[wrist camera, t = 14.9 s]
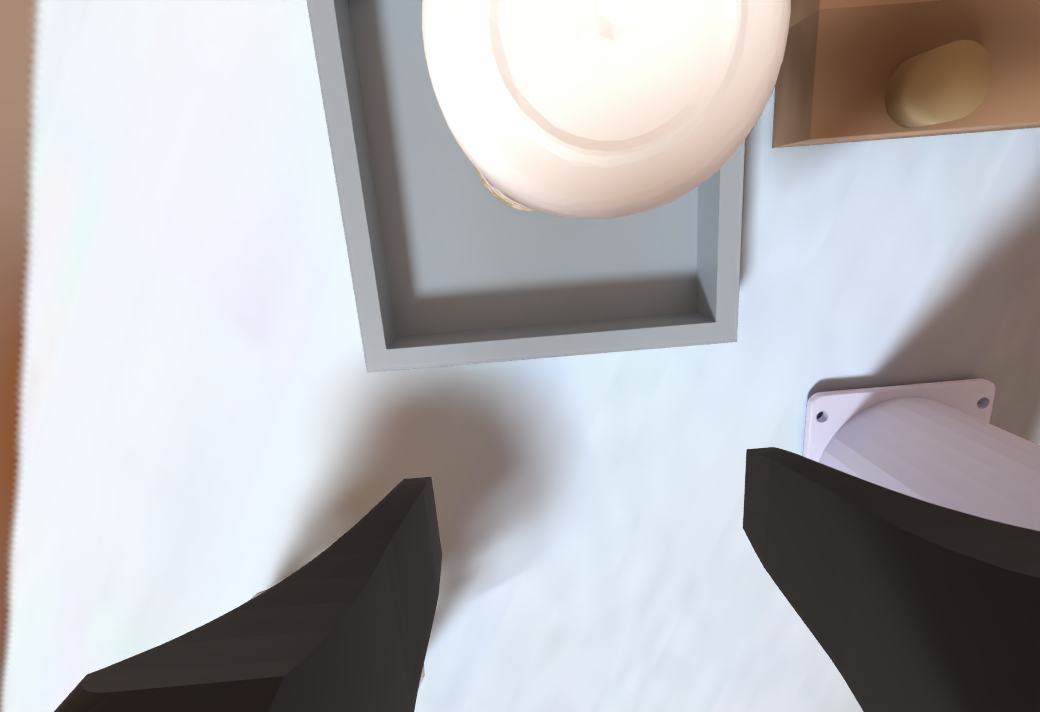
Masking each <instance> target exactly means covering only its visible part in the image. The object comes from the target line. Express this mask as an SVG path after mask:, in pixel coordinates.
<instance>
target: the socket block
mask: <svg viewBox="0 0 1040 712" xmlns="http://www.w3.org/2000/svg"><path fill="white" fill-rule="evenodd" d="M1037 127H1040V0H940V1H938V0H791V14H790V22H789V30H788V36H787V42H786V47H785V52H784V57H783V62H782V64H781V66H780V70H779V74H778V78H777V81H776V85H775V103H774V122H773V141H772V148H778V147H791V146H804V145H817V144H830V143H843V142H856V141H869V140H881V139H894V138H907V137H920V136H933V135H946V134H959V133H972V132H985V131H998V130H1011V129H1024V128H1037Z"/></svg>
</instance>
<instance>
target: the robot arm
mask: <svg viewBox="0 0 1040 712" xmlns="http://www.w3.org/2000/svg"><path fill="white" fill-rule="evenodd" d="M995 392H996V387H995V385H994V383H992V382H991V381H988V380H986V379H968V380H956V381H945V382H933V383H921V384H909V385H898V386H886V387H874V388H862V389H851V390H839V391H827V392H818V393H815V394H813V395H812V396H811V397H810V398H809V400H808V403H807V411H806V424H805V436H804V448H803V456H800V455H798V454H795V453H792V452H789V451H786V450H782V449H779V448H775V447H769V448H758V449H747V453H746V474H745V495H744V516H743V529H744V531H745V533H746V535H747V537H748V539H749V541H750V543H751V545H752V547H753V548H754V550H755V552H756V554H757V556H758V557H759V559H760V561H761V563H762V565H763V566H764V568H765V569H766V571H767V572H768V573H769V575H770V576H771V578H772V579H773V581H774V582H775V583H776V585H777V586H778V587H779V589H780V590H781V592H782V593H783V594H784V596H785V597H786V599H787V600H788V601H789V603H790V604H791V605H792V607H793V608H794V609H795V611H796V612H797V613H798V615H799V616H800V617H801V619H802V620H803V622H804V623H805V624H806V626H807V627H808V628H809V630H810V631H811V632H812V634H813V635H814V637H815V638H816V639H817V641H818V642H819V643H820V645H821V646H822V647H823V649H824V650H825V651H826V653H827V654H828V656H829V657H830V659H831V660H832V662H833V663H834V664H835V666H836V667H837V669H838V670H839V672H840V673H841V675H842V676H843V678H844V680H845V681H846V683H847V685H848V686H849V688H850V690H851V691H852V693H853V695H854V696H855V698H856V700H857V701H858V703H859V705H860V706H861V708H862V710H863V711H864V712H1040V445H1038V444H1035V443H1033V442H1031V441H1028V440H1026V439H1024V438H1021V437H1019V436H1017V435H1015V434H1012V433H1010V432H1008V431H1005V430H1003V429H1001V428H998V427H996V426H994V425H992V424H990V419H991V413H992V408H993V402H994V397H995ZM980 399H981V401H980V403H978V401H979V400H980ZM977 403H978V404H977ZM822 411H823V414H822V416H821V417H820V418H818V419H816V417H817V414H818V413H819V412H822ZM441 559H442V552H441V545H440V538H439V530H438V523H437V516H436V508H435V501H434V493H433V486H432V479H431V477H424V478H412V479H404V480H403V481H402V482H400V483H399V484H398V485H397V486H396V487H395V488H394V489H393V490H392V491H391V492H390V493H389V494H388V495H387V496H386V497H385V498H384V499H383V500H382V501H381V502H380V503H378V504H377V505H376V506H375V507H374V508H373V509H372V510H371V511H370V512H369V513H368V514H367V515H366V516H365V517H364V518H363V519H361V520H360V521H359V522H358V523H357V524H356V525H355V526H354V527H352V528H351V529H350V530H349V531H348V532H346V533H345V534H344V535H343V536H342V537H341V538H339V539H338V540H337V541H336V542H335V543H333V544H332V545H331V546H330V547H329V548H328V549H326V550H325V551H324V552H322V553H321V554H320V555H319V556H317V557H316V558H315V559H313V560H312V561H310V562H309V563H308V564H306V565H305V566H303V567H302V568H301V569H299V570H298V571H296V572H295V573H293V574H292V575H290V576H289V577H287V578H286V579H284V580H283V581H281V582H280V583H278V584H277V585H275V586H273V587H271V588H270V589H268V590H266V591H265V592H263V593H261V594H260V595H258V596H256V597H254V598H253V599H251V600H249V601H248V602H246V603H244V604H243V605H241V606H239V607H238V608H236V609H234V610H232V611H230V612H228V613H226V614H224V615H222V616H221V617H219V618H217V619H215V620H213V621H211V622H209V623H207V624H205V625H203V626H201V627H199V628H197V629H194V630H192V631H190V632H188V633H186V634H184V635H182V636H180V637H178V638H175V639H173V640H171V641H169V642H166V643H164V644H162V645H160V646H157V647H155V648H152V649H150V650H147V651H145V652H143V653H140V654H138V655H135V656H133V657H130V658H128V659H125V660H123V661H121V662H118V663H116V664H113V665H111V666H108V667H106V668H103V669H101V670H98V671H95V672H93V673H90V674H87V675H86V676H85V677H84V679H83V680H82V681H81V682H80V683H79V684H78V685H77V686H76V688H75V689H74V690H73V691H72V692H71V693H70V694H69V695H68V697H67V698H66V699H65V700H64V701H63V702H62V703H61V704H60V706H59V707H58V708H57V709H56V710H55V711H54V712H414V709H415V703H416V697H417V692H418V688H419V683H420V678H421V674H422V669H423V665H424V660H425V656H426V651H427V646H428V642H429V637H430V633H431V628H432V623H433V619H434V614H435V609H436V605H437V600H438V594H439V583H440V572H441Z"/></svg>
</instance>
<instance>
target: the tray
mask: <svg viewBox="0 0 1040 712" xmlns="http://www.w3.org/2000/svg"><path fill="white" fill-rule="evenodd" d="M307 6H308V12H309V18H310V24H311V30H312V36H313V42H314V49H315V55H316V61H317V67H318V73H319V79H320V85H321V91H322V98H323V104H324V110H325V116H326V122H327V128H328V134H329V140H330V147H331V153H332V159H333V165H334V171H335V177H336V183H337V190H338V196H339V202H340V208H341V214H342V220H343V226H344V232H345V239H346V245H347V251H348V257H349V263H350V269H351V275H352V281H353V288H354V294H355V300H356V306H357V312H358V318H359V324H360V330H361V337H362V343H363V349H364V355H365V361H366V367H367V373H368V372H380V371H392V370H404V369H416V368H428V367H440V366H452V365H464V364H476V363H488V362H500V361H512V360H524V359H536V358H548V357H560V356H572V355H584V354H596V353H608V352H620V351H632V350H644V349H656V348H668V347H680V346H692V345H704V344H716V343H728V342H737V327H738V302H739V277H740V252H741V227H742V202H743V177H744V151H745V140H744V142H743V143H742V144H741V146H740V147H739V148H738V149H737V151H736V152H735V153H734V154H733V155H732V156H731V157H730V159H729V160H728V161H727V162H726V163H725V164H724V165H723V166H722V167H721V168H719V169H718V170H717V171H716V172H715V173H714V174H713V175H712V176H711V177H709V178H708V179H707V180H705V181H704V182H703V183H701V184H700V185H699V186H697V187H696V188H694V189H693V190H691V191H690V192H688V193H687V194H685V195H683V196H681V197H680V198H678V199H676V200H674V201H672V202H670V203H667V204H665V205H663V206H660V207H658V208H655V209H652V210H649V211H646V212H643V213H639V214H635V215H630V216H626V217H619V218H612V219H577V218H566V217H561V216H556V215H551V214H547V213H544V212H541V211H539V212H531V211H521V210H517V209H514V208H512V207H510V206H508V205H506V204H504V203H503V202H501V201H500V200H498V199H497V198H496V197H495V196H494V195H492V194H491V193H490V192H489V190H488V189H487V188H486V187H485V186H484V184H483V183H482V181H481V178H480V177H479V175H478V173H477V171H476V169H475V166H474V165H473V163H472V162H471V161H470V160H469V158H468V157H467V156H466V154H465V153H464V151H463V150H462V148H461V147H460V145H459V144H458V142H457V141H456V139H455V137H454V135H453V134H452V132H451V130H450V129H449V127H448V124H447V122H446V120H445V117H444V115H443V113H442V110H441V108H440V106H439V103H438V100H437V97H436V94H435V92H434V88H433V85H432V82H431V78H430V75H429V70H428V66H427V61H426V56H425V51H424V42H423V32H422V0H307Z"/></svg>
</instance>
